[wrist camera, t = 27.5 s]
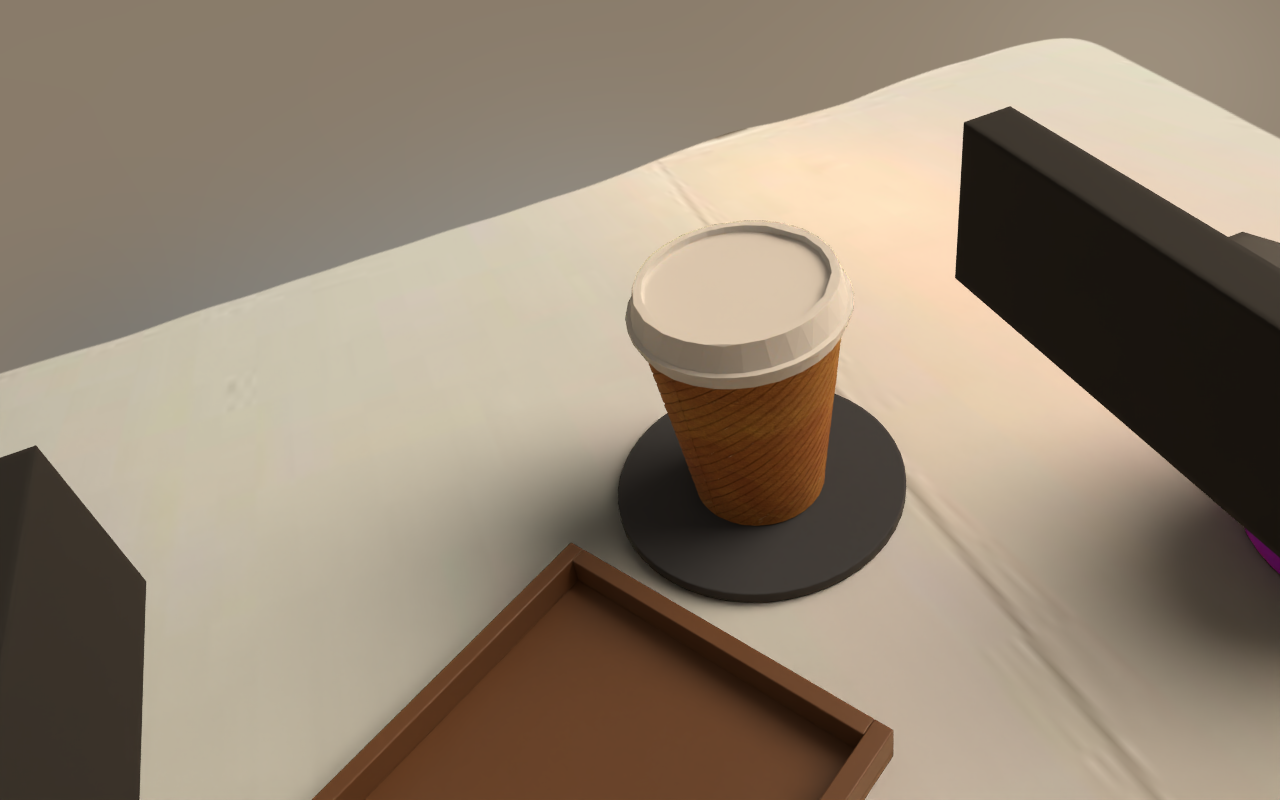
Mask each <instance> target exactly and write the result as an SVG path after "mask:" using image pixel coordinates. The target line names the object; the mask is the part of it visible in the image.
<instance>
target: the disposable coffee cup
mask: <svg viewBox="0 0 1280 800" xmlns="http://www.w3.org/2000/svg"><path fill="white" fill-rule="evenodd" d="M853 308H854V292H853V288H852V284H851V281H850V279H849V277H848V276H847V274H846V273H845V271H844V270H843V269H842V268H841V265H840V262H839V260H838V258H837V256H836V254H835V252H834V251H833V250H832V249H831V247H830V246H829V245H828V244H827V243H825V242H824V241H823V240H822V239H820V238H819V237H818V236H816V235H814V234H812V233H810V232H808V231H806V230H804V229H801V228H798V227H795V226H792V225H788V224H784V223H779V222H771V221H738V222H730V223H722V224H715V225H711V226H707V227H704V228H700V229H697V230H694V231H692V232H689V233H686V234H684V235H681V236H679V237H678V238H676V239H674V240H672V241H671V242H669V243H667V244H665V245H664V246H662V247H661V248H660V249H658V250H657V251H656V252H654V253H653V254H652V255H651V256H650V257H649V258H648V259H647V260H646V261H645V262H644V264H643V265H642V267H641V268H640V269H639V271H638V272H637V274H636V277H635V280H634V283H633V287H632V296H631V298H630V300H629V302H628V306H627V312H626V318H625V320H626V325H627V330H628V334H629V336H630V338H631V341H632V343H633V345H634V346H635V347H636V348H637V350H638V351H639V352H640V353H641V355H642V356H643V357H644V358H645V360H646V361H648V362H649V366H650V368H651V371H652V372H653V377H654V379H655V381H656V383H657V387H658V389H659V392H660V393H661V397H662V400H663V402H664V403H665V405H664V406H665V408H666V410H667V412H668V416H669V418H670V421H671V422H672V423H671V424H672V426H673V429H674V431H675V434H676V437H677V439H678V440H679V441H678V442H679V444H680V447H681V449H682V452H683V455H684V457H685V460H686V463H687V465H688V466H689V471H690V473H691V475H692V479H693V481H694V483H695V487H696V489H697V492H698V495H699V497H700V499H701V501H702V502H703V504H704V505H705V506H706V507H707V508H708V509H709V510H710V511H711V512H713V513H714V514H715V515H717V516H718V517H721V518H723V519H725V520H728V521H730V522H733V523H737V524H741V525H751V526H760V525H770V524H775V523H780V522H783V521H786V520H788V519H791V518H793V517H795V516H797V515H798V514H800V513H802V512H803V511H805V510H806V509H807V508H808V507H809V506H810V505H812V504H813V503H814V501H815V500H816V499H817V497H818V496H819V494H820V492H821V490H822V487H823V484H824V479H825V468H826V460H827V450H828V442H829V433H830V427H831V418H832V409H833V400H834V392H835V385H836V377H837V367H838V358H839V350H840V342H841V337H842V334H843V332H844V330H845V328H846V327H847V325H848V322H849V320H850V317H851V314H852V311H853Z"/></svg>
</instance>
